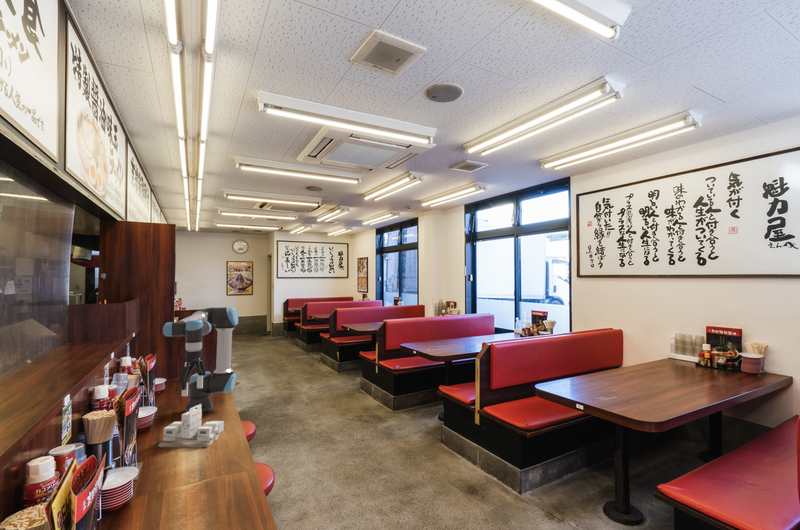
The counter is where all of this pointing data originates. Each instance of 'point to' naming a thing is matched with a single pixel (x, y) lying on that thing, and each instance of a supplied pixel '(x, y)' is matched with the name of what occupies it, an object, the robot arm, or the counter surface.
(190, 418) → the ink cartridge box
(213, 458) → the counter surface
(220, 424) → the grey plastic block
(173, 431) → the mounting board
